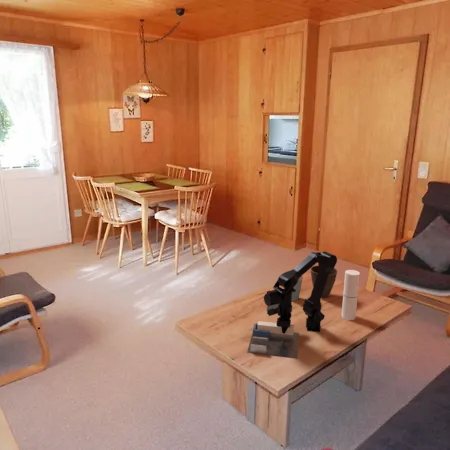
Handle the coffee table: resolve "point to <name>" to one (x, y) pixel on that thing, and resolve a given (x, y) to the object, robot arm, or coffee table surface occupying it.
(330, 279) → the plant pot
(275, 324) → the long cream bar
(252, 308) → the coffee table surface
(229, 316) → the coffee table surface
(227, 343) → the coffee table surface
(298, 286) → the disposable coffee cup
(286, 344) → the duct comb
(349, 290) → the cylindrical container
